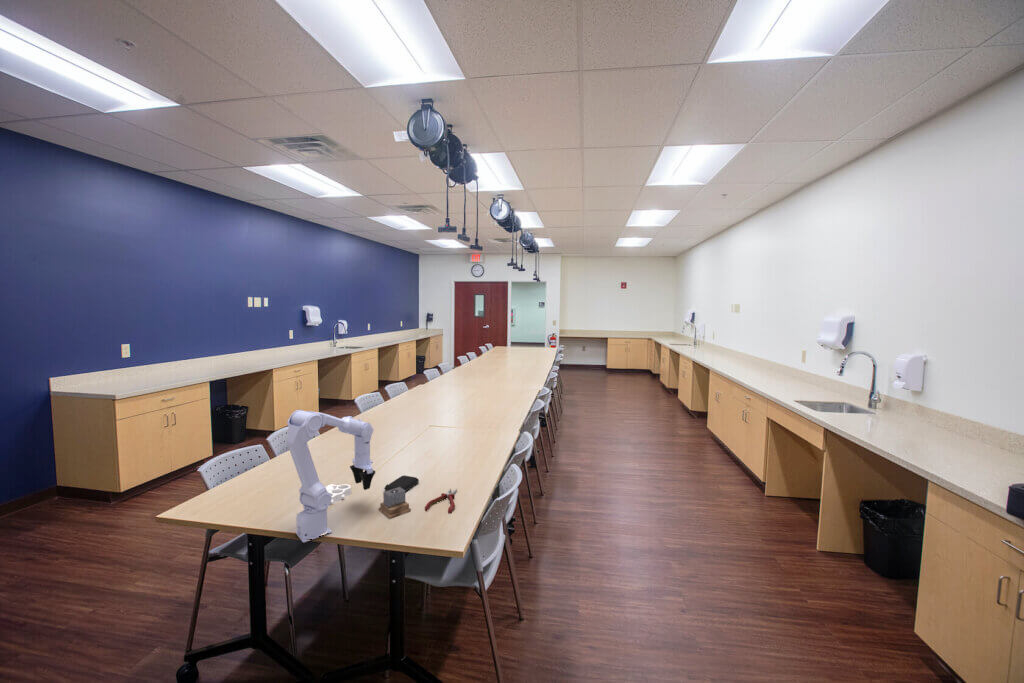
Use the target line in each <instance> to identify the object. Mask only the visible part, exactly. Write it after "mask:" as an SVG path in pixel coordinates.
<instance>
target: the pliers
mask: <svg viewBox="0 0 1024 683" xmlns="http://www.w3.org/2000/svg"><path fill="white" fill-rule="evenodd" d="M451 490H452V488H449V489H448V490H447V491H446V493H444V492H443V493H441V494H440V496H438V497H436V498H433V499H431V500H428V502H427V503H426V504H425V506H424V511H425V512H428V511H427V510H429V509H430V508H431V507H432V506H434V505H437V504H438V503H437V502H439V503H441V502H443V501H445V500H448V501H450V502H449V504H450V505H449V507H448V509H447V514H449V513H450V514H451V513H453V511H454V510H455V508H456V504H455V501H454V500H455V498H456V497H455V494H456V493H457V492H458V489H457V488H456V489H453V490H452V491H451ZM446 498H448V499H446ZM444 499H445V500H444ZM442 500H443V501H442ZM440 501H441V502H440ZM430 506H431V507H430Z"/></svg>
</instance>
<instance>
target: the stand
mask: <svg viewBox="0 0 1024 683" xmlns="http://www.w3.org/2000/svg"><path fill="white" fill-rule="evenodd" d="M379 505H380V506H379V507H378V511H379V512H380V513H381V514H383V515H384V516H385V517H386V518H387V519H388V520H391V519H394V518H396V517H399V516H402V515H405V514H407V513H410V512H411V511H412V509H411V508H410V503H408V502H407V501H405V503H403V504H400V505H398V506H395V507H392V508H388V507H386V506H385V505H384V503H383V502H381V503H380V504H379Z"/></svg>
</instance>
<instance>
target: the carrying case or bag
mask: <svg viewBox="0 0 1024 683" xmlns="http://www.w3.org/2000/svg"><path fill="white" fill-rule="evenodd" d="M419 481H420V480H419V478H418V477H415V476H409V475H401V476H399V477H398V478H396V479H394V480H393V481H392V482H390V483H389V484H388V483H387V484H386V485H385V486H384V490H385V491H388V490H391V489H395V488H398V487H401V488H402V489H404V490H405V493H406V492H408V491H409V490H410V488H411V489H412V488H413V487H415V486H416V485H418V483H419ZM414 485H415V486H414ZM407 490H408V491H407ZM385 491H384V492H385Z"/></svg>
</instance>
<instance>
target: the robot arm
mask: <svg viewBox="0 0 1024 683" xmlns="http://www.w3.org/2000/svg"><path fill="white" fill-rule="evenodd" d="M286 424H287V427H288V431H287V432H288V433H287V438H286V439H287V440H286V444H287V446H288V450H289V452H290V456H291V459H292V461H293V464H294V466H295V470H296V472H297V475H298V478H299V481H300V483H301V486H300V488H299V489H298V491H299V503H300V504H301V505H303V510H302V511H300V512H298V513H297V514H296V518H295V519H296V521H295V522H296V532H295V534H296V535H297V537H298V538H299V540H301V543H307V542H309V541H313V540H315V539H318V538H320V537H319V536H321V534H323V533H325V532H326V531H327V533H329V534H331V533H330V532H332V530H331V529H330V528H329V527H328V509H329V506H330V503H331V499H332V497H331V494H330V493H329V492H328V491H327V490H326V486H325V484H323V483H322V482H321V481H320V478H319V475H318V473H317V469H316V467H315V463H314V460H313V458H312V454H311V451H310V449H309V445H308V442H309V441H310V440H311V439H312V438H313V437H314V436H315V435H316V433H318V431H319V430H320V429H321V428H324V427H325V426H326V425H327V426H331V427H336V428H338V431H339V432H341V433H344V434H349V435H352V436H354V457H353V458H352V464H353V465H349V468H350V469H351V472H352V475H353V478H354V479H353V480H354V481H355V484H356V485H357V484H360V483H362V489H363V490H364V491H367V490H369V489H370V488H371V484H372V481H373V478H374V476H375V474H376V470H374V468H373V466H372V464H373V463H374V460H371V440H372V435H373V434H374V428H373V425H372V424H371V423H370V422H366V421H363V420H362V419H360V418H358V419H356V418H354V417H353V416H350V415H347V416H343V417H342V418H339V417H338V416H337V417H336V416H333V415H331V414H328V413H324V412H319V411H317V412H316V411H311V410H303V409H297V410H294V411H293V412H292V413H291V415H290V416H289V417H288V420H287V422H286ZM332 533H333V532H332ZM321 537H322V536H321ZM307 539H312V540H307Z"/></svg>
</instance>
